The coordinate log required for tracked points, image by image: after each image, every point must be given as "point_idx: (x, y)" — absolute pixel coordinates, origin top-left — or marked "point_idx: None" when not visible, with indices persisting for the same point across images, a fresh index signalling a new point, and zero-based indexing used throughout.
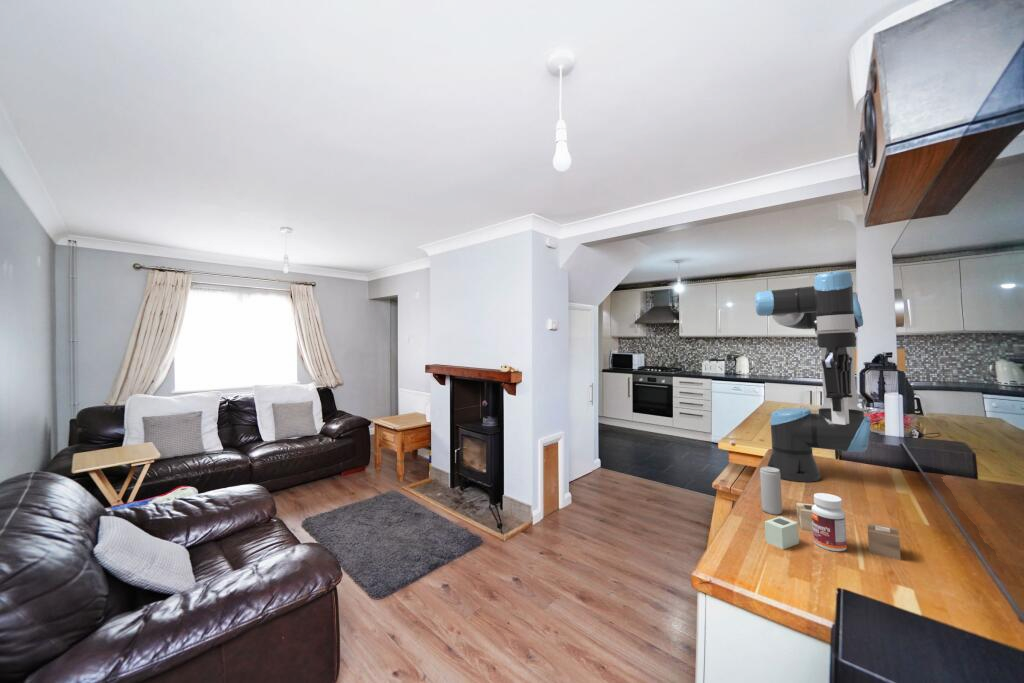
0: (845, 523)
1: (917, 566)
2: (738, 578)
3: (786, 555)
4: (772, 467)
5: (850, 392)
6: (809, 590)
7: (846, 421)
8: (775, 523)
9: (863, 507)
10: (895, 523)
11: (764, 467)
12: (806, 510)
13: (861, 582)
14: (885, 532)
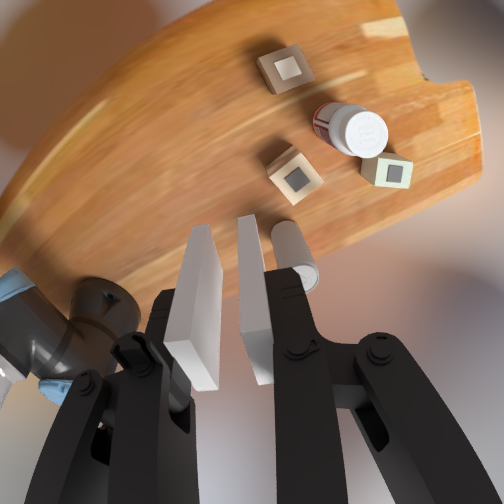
0: (341, 104)
1: (289, 32)
2: (473, 153)
3: (406, 143)
4: None
5: (88, 379)
6: (449, 98)
7: (208, 235)
8: (404, 175)
9: (123, 181)
10: (143, 119)
11: None
12: (315, 176)
13: (396, 64)
14: (296, 61)
